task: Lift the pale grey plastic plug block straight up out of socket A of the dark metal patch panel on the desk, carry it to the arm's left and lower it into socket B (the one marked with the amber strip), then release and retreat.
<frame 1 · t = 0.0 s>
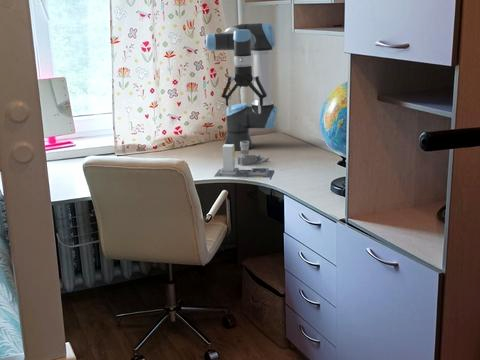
hand: (244, 113, 288), 28 cm above the table, fingers open, 13 cm apart
plug: (229, 173, 293), point 1 cm above the table, touching patch panel
patch panel: (244, 175, 292), on the table
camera: (251, 164, 311), on the table
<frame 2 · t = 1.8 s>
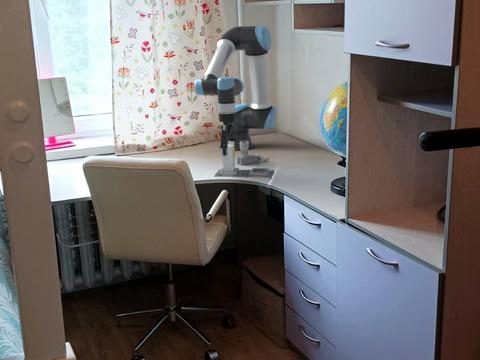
hand: (228, 158, 291), 8 cm above the table, fingers open, 13 cm apart
nothing on the table moved.
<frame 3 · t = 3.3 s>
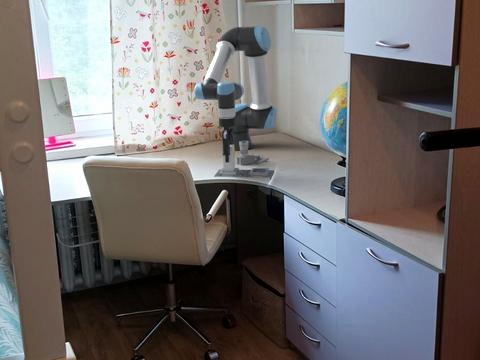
hand: (229, 167, 292), 4 cm above the table, fingers closed on plug, 4 cm apart
plug: (229, 173, 293), point 1 cm above the table, touching gripper, patch panel
everything else where it was.
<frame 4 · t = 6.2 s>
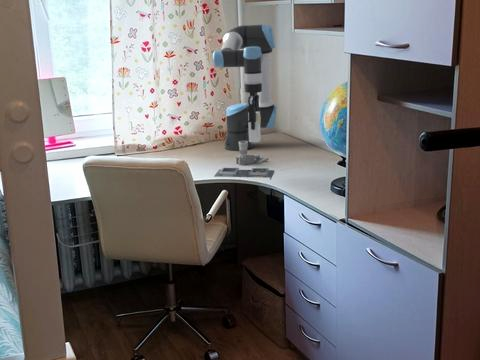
hand: (254, 135, 285), 19 cm above the table, fingers closed on plug, 4 cm apart
plug: (254, 140, 286), point 16 cm above the table, touching gripper
everything else where it was.
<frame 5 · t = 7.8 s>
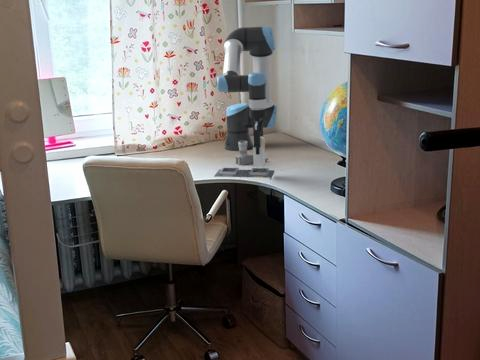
hand: (259, 159, 289), 8 cm above the table, fingers closed on plug, 4 cm apart
plug: (259, 165, 289), point 5 cm above the table, touching gripper
everything else where it was.
when the fingers open (4 cm above the table, at t = 9.1 s): plug stays where it is, resting on patch panel.
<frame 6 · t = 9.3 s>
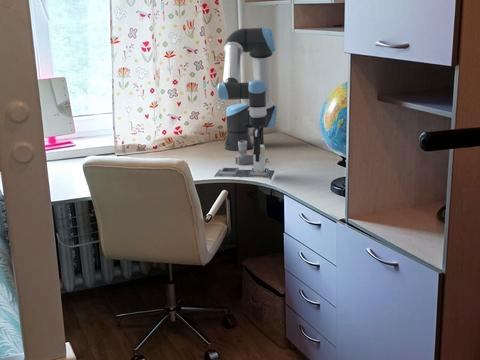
hand: (259, 165, 289), 5 cm above the table, fingers open, 7 cm apart
plug: (259, 173, 290), point 1 cm above the table, touching patch panel
everything else where it was.
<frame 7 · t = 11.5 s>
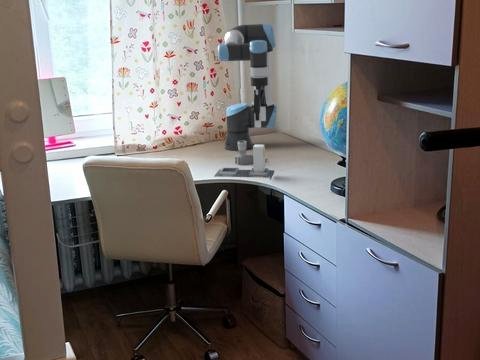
hand: (260, 124, 287), 23 cm above the table, fingers open, 13 cm apart
nothing on the table moved.
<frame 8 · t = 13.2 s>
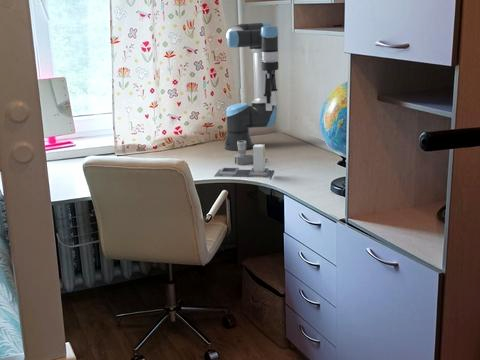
hand: (271, 107, 295), 29 cm above the table, fingers open, 13 cm apart
at the end: plug 0.0 cm from the target spot on the patch panel, point 1.0 cm above the patch panel's base; plug tilted 0°; the gripper is holding nothing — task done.
